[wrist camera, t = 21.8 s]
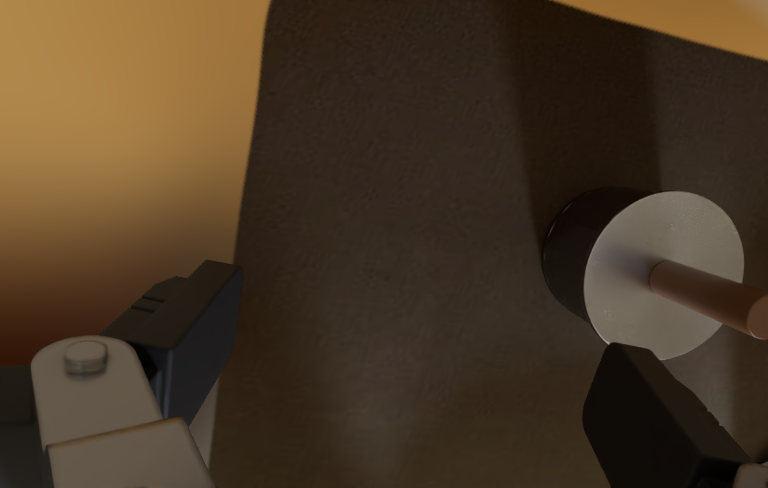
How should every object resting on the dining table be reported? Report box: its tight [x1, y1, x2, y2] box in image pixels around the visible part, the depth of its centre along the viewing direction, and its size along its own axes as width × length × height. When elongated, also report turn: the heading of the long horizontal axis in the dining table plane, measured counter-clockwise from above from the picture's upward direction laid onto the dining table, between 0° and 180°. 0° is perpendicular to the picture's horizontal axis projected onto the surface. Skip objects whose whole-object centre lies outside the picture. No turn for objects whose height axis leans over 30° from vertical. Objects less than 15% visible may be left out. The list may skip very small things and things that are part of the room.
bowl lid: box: [580, 190, 768, 360], centre depth 32 cm, size 11×11×9 cm
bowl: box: [542, 187, 653, 323], centre depth 39 cm, size 10×10×7 cm
